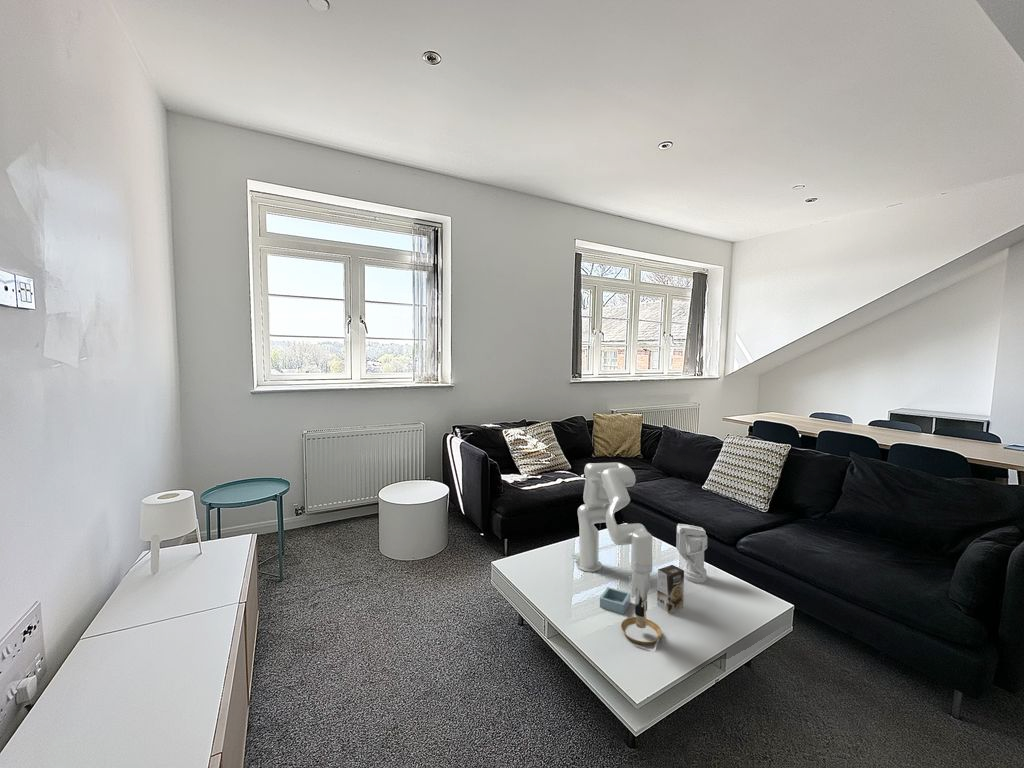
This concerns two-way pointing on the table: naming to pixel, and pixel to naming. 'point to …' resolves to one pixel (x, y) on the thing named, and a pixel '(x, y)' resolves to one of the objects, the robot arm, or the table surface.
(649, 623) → the plant saucer
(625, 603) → the holder
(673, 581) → the coffee box
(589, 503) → the robot arm
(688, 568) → the white sculpture
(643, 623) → the dowel
